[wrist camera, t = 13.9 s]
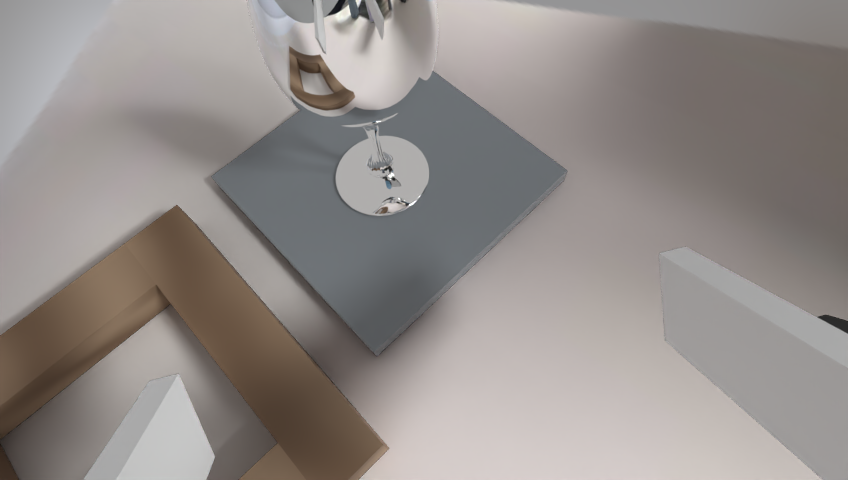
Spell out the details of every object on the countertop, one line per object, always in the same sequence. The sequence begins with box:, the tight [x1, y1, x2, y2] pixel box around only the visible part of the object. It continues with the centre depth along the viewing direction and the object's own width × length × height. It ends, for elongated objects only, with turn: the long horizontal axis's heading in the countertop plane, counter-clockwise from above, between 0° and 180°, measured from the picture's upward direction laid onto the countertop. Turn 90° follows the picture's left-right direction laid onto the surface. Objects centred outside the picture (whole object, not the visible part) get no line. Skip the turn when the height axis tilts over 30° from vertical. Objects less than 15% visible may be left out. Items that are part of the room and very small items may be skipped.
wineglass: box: [246, 0, 439, 217], centre depth 19 cm, size 6×6×12 cm
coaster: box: [211, 71, 567, 356], centre depth 25 cm, size 12×12×1 cm
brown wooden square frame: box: [0, 205, 389, 480], centre depth 20 cm, size 14×14×2 cm
